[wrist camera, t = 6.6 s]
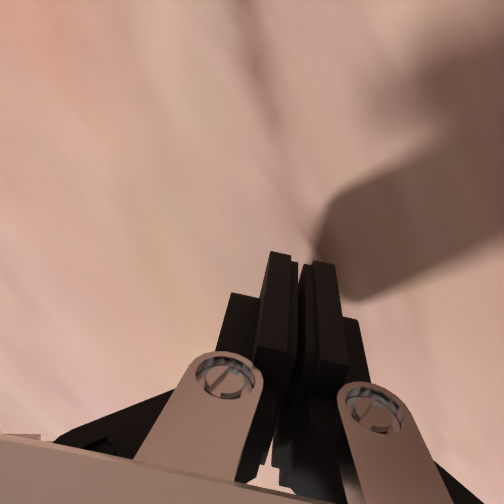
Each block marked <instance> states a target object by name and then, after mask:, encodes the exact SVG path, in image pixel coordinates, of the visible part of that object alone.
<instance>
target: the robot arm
mask: <svg viewBox="0 0 504 504" xmlns="http://www.w3.org/2000/svg"><path fill="white" fill-rule="evenodd" d="M272 438H273V445H272V460H271V466H272V467H275V468H279V469H280V471H279V486H283V487H288V488H291V489H292V490H293V492H294V493H295V494H296V495H294V494H289V493H285V492H280V491H276V490H271V489H267V488H262V487H257V486H253V485H248V484H246V483H248V482H249V481H251V480H252V479H254V478H256V476H257V472H258V469H259V465H260V464H261V465H264V464H265V462H266V458H267V455H268V452H269V448H270V445H271V441H272ZM0 504H484V503H483V502H482V501H481V500H479V499H478V498H477V497H476V496H475V495H473V494H472V493H471V492H470V491H469V490H468V489H466V488H465V487H464V486H463V485H462V484H461V483H459V482H458V481H457V480H456V479H455V478H454V477H452V476H451V475H450V474H449V473H448V472H446V471H445V470H444V469H443V468H442V467H441V466H439V465H438V464H437V463H436V462H435V461H434V460H433V459H432V457H431V455H430V452H429V450H428V448H427V446H426V444H425V442H424V440H423V438H422V435H421V433H420V431H419V429H418V427H417V425H416V423H415V421H414V419H413V416H412V414H411V412H410V411H409V409H408V408H407V406H406V405H405V404H404V403H403V402H402V401H401V400H400V399H399V398H398V397H397V396H396V395H395V394H393V393H392V392H390V391H389V390H387V389H385V388H383V387H381V386H378V385H376V384H372V383H371V380H370V376H369V371H368V366H367V361H366V356H365V351H364V347H363V342H362V337H361V332H360V327H359V323H358V320H356V319H352V318H347V317H343V316H342V309H341V303H340V296H339V290H338V283H337V277H336V270H335V265H333V264H328V263H324V262H319V261H315V260H313V262H312V264H311V265H307V264H304V265H303V268H302V272H301V275H300V279H299V282H298V262H293V261H291V255H287V254H282V253H278V252H273V251H270V255H269V259H268V263H267V267H266V272H265V276H264V280H263V284H262V289H261V293H260V297H259V298H256V297H251V296H246V295H242V294H237V293H233V292H231V295H230V299H229V302H228V306H227V310H226V313H225V317H224V321H223V324H222V328H221V331H220V335H219V339H218V342H217V346H216V349H215V351H213V352H209V353H205V354H202V355H201V356H199V357H197V358H195V359H194V361H193V362H192V363H191V364H190V365H189V367H188V368H187V370H186V372H185V373H184V375H183V377H182V378H181V380H180V382H179V383H178V385H177V387H176V388H175V389H173V390H170V391H168V392H165V393H163V394H160V395H158V396H155V397H153V398H150V399H148V400H145V401H143V402H140V403H138V404H135V405H133V406H130V407H128V408H125V409H123V410H120V411H118V412H115V413H112V414H110V415H107V416H105V417H102V418H100V419H97V420H95V421H92V422H90V423H87V424H85V425H82V426H80V427H77V428H75V429H72V430H70V431H69V432H67V433H65V434H63V435H61V436H59V437H58V438H57V439H56V440H55V441H41V434H0Z"/></svg>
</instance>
